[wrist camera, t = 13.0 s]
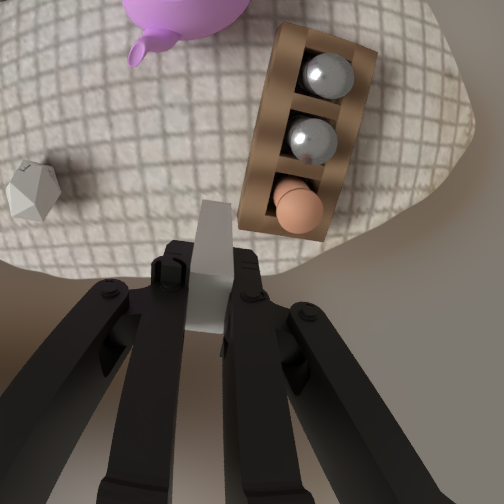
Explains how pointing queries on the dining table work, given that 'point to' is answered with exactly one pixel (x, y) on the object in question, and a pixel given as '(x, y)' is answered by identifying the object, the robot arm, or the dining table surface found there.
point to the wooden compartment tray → (275, 120)
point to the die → (33, 191)
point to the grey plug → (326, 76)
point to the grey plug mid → (311, 139)
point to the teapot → (177, 22)
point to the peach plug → (296, 205)
